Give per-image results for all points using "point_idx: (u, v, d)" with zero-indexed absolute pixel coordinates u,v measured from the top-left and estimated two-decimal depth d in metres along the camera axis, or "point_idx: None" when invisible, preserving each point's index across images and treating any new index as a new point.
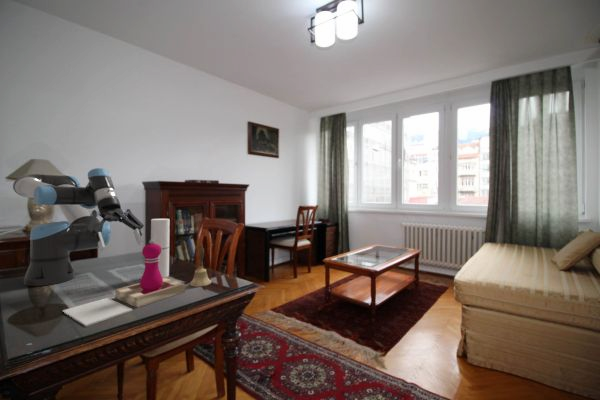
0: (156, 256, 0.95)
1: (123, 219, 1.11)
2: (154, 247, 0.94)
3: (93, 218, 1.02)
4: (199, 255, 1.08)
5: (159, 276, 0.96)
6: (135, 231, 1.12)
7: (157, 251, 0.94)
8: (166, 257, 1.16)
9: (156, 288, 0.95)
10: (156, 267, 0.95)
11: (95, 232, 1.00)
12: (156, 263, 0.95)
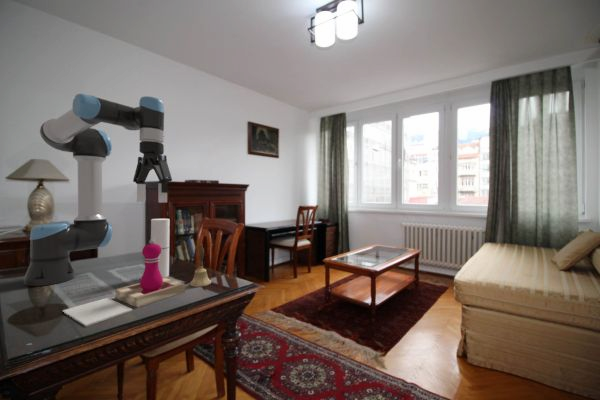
0: (156, 256, 0.95)
1: (148, 170, 0.98)
2: (154, 247, 0.94)
3: None
4: (199, 255, 1.08)
5: (159, 276, 0.96)
6: (142, 186, 0.99)
7: (157, 251, 0.94)
8: (166, 257, 1.16)
9: (156, 288, 0.95)
10: (156, 267, 0.95)
11: None
12: (156, 263, 0.95)
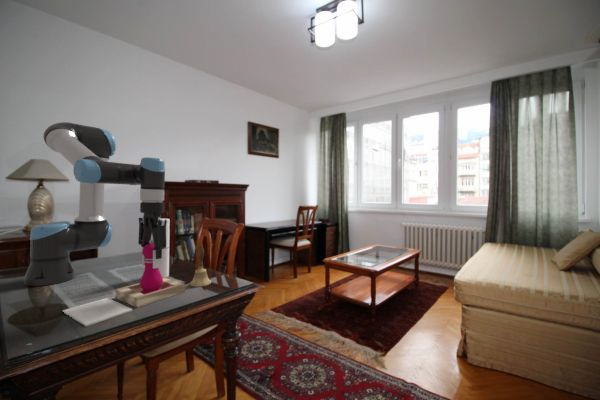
0: None
1: None
2: None
3: None
4: (199, 255, 1.08)
5: (159, 276, 0.96)
6: None
7: None
8: (166, 257, 1.16)
9: (156, 288, 0.95)
10: None
11: None
12: None
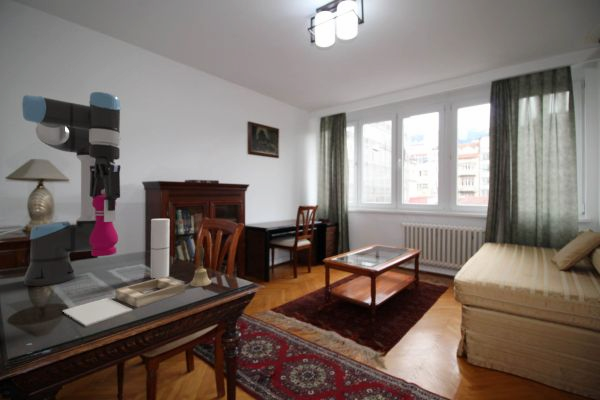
0: None
1: None
2: None
3: None
4: (199, 255, 1.08)
5: (113, 232, 0.83)
6: None
7: None
8: (166, 257, 1.16)
9: (109, 245, 0.82)
10: (109, 222, 0.82)
11: None
12: None
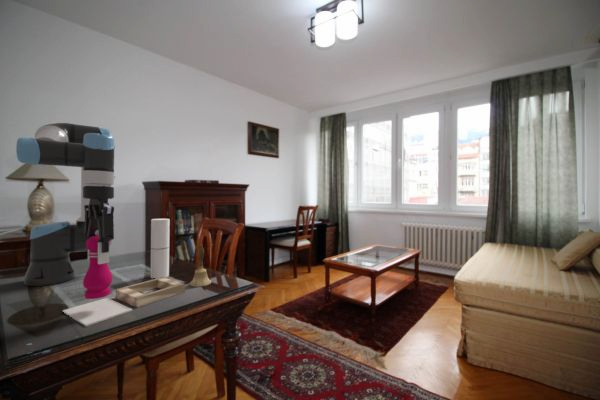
0: None
1: None
2: None
3: None
4: (199, 255, 1.08)
5: (107, 273, 0.81)
6: None
7: None
8: (166, 257, 1.16)
9: (103, 287, 0.80)
10: None
11: None
12: None
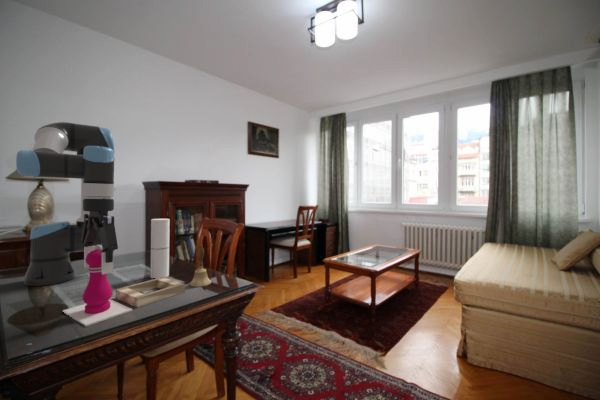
0: None
1: None
2: (100, 254, 0.80)
3: None
4: (199, 255, 1.08)
5: (107, 288, 0.82)
6: (91, 248, 0.85)
7: None
8: (166, 257, 1.16)
9: (102, 302, 0.81)
10: (103, 277, 0.81)
11: None
12: None
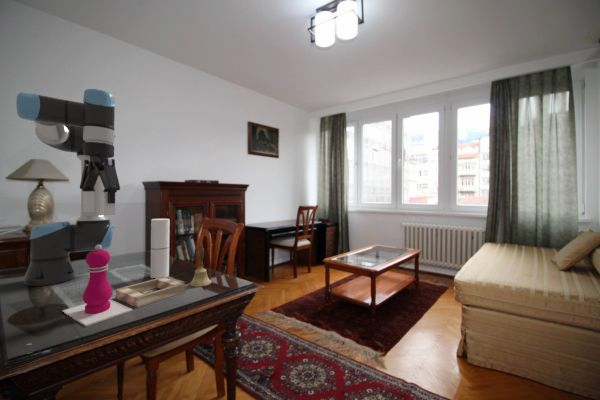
0: (103, 264, 0.81)
1: (96, 175, 0.83)
2: (100, 254, 0.80)
3: None
4: (199, 255, 1.08)
5: (107, 288, 0.82)
6: (90, 193, 0.85)
7: (103, 258, 0.80)
8: (166, 257, 1.16)
9: (102, 302, 0.81)
10: (103, 277, 0.81)
11: None
12: (103, 273, 0.81)
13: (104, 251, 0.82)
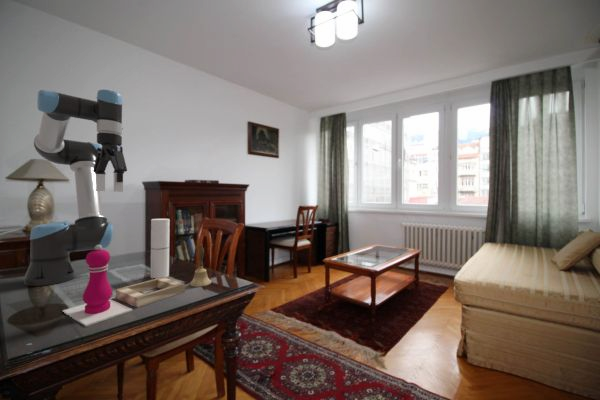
0: (103, 264, 0.81)
1: (107, 160, 1.01)
2: (100, 254, 0.80)
3: None
4: (199, 255, 1.08)
5: (107, 288, 0.82)
6: (101, 176, 1.03)
7: (103, 258, 0.80)
8: (166, 257, 1.16)
9: (102, 302, 0.81)
10: (103, 277, 0.81)
11: None
12: (103, 273, 0.81)
13: (104, 251, 0.82)
